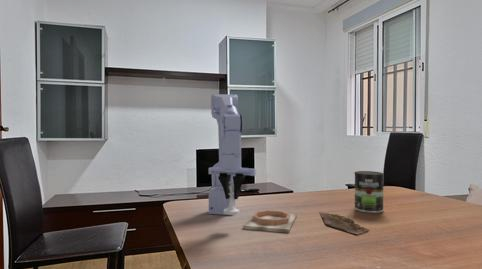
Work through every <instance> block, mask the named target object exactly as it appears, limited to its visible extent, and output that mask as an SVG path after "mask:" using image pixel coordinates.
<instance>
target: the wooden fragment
mask: <svg viewBox="0 0 482 269" xmlns="http://www.w3.org/2000/svg"><path fill="white" fill-rule="evenodd" d="M319 214H320V216H321V218H322V219H323V222H324V223H325V225H327V226H329V227H333V228H335V229H339V230H342V231H345V232H348V233H352V234H355V235H356V236H361V235H365V234H366V233H368V232H369V231H370V229H368V228H366V227H364V226H361V225H360V224H359V223H358V224H357V223H355V220H353V219H352V218H348V217H345V216H344V215H340V214H337V213H335V214H333V213H328V212H327V213H326V212H319Z"/></svg>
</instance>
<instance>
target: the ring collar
mask: <svg viewBox="0 0 482 269" xmlns="http://www.w3.org/2000/svg"><path fill="white" fill-rule="evenodd" d="M290 214H291V213H289V212H285V211H283V210H272V209H270V210H269V209H268V210H261V211H259V212H258V211H255V213H254V214H253V215H252V217H253V220H254V221H256V222H258V223H260V224H268V225H279V224H285V223H289V221H290ZM267 215H273V216H282V217H284V218H281V219H262V218H260V216H267Z"/></svg>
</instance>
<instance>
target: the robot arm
mask: <svg viewBox="0 0 482 269" xmlns="http://www.w3.org/2000/svg"><path fill="white" fill-rule="evenodd" d="M238 105H239V97H238V95H237V94H236V93H235V94H227V93H226V94H222V93H221V94H219V93H218V94H217V93H216V94H215V93H212V94H211V96H210V109H211V112H210V113H211V117H212V118H213V119H215V120H216V124H217V130H218V132H217V135H218V136H217V137H218V162H217V163H215V164H214V165H213V166H212V167H208V175H211V186H212V188H210V189H209V191H208V212H207V214H209V215H210V214H211V215H220V216H221V215H222V216H229V215H228V214H224V213H223V212H224V209H227V208H228V207H229V201H230V195H228V194H229V193H230V190H229V186H230V185H231V183H229V182H231V180H233V182H234V183H233V186H234V192H233V193H234V195H233V199H234V207H235V208H236V200H239V195H240V192H241V187H242V185H243V182H244V181H245V178H246V176H251V177H255V176H256V175H257V169H256V168H249V167H242V133H243V131H244V118H243V115H242V113H239V112H238V109H239V108H238V107H239V106H238ZM237 209H238V210H239V211H240V209H239V208H237Z"/></svg>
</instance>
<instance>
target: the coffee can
mask: <svg viewBox="0 0 482 269" xmlns="http://www.w3.org/2000/svg"><path fill="white" fill-rule="evenodd" d="M353 173H354V210H356V211H357V212H361V213H362V212H363V213H368V214H379V213H383V212H384V175H385V174H384V173H383V172H381V171H380V172H379V171H372V170H371V171H368V170H358V171H354V172H353Z"/></svg>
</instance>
